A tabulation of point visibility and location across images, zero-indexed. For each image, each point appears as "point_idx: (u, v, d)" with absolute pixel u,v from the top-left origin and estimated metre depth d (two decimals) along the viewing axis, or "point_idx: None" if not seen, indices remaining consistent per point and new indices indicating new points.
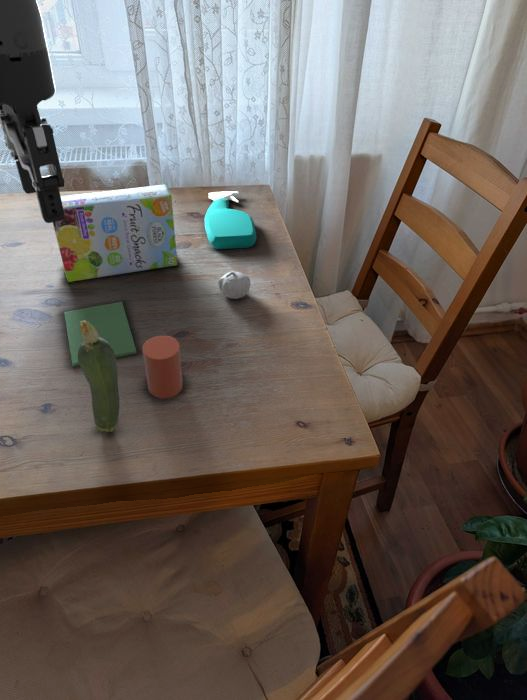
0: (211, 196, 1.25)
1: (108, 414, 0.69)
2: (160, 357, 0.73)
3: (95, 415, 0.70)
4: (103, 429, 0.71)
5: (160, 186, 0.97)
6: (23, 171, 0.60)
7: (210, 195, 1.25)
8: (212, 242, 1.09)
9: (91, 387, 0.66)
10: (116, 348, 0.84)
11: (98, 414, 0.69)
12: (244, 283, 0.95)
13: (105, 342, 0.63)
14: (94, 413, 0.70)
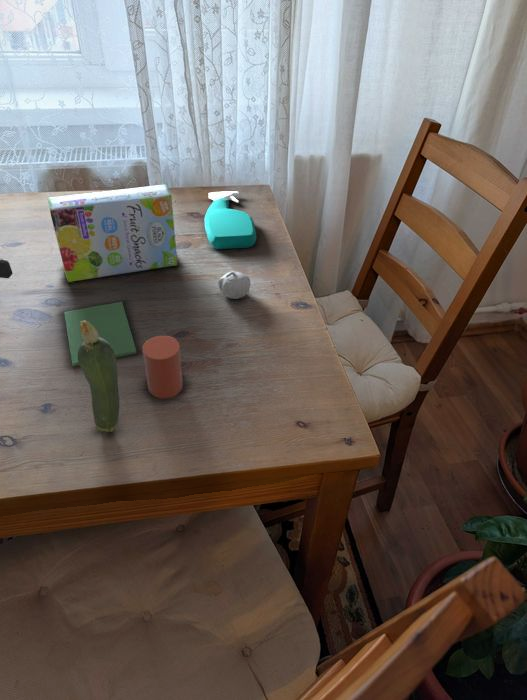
0: (211, 196, 1.25)
1: (108, 414, 0.69)
2: (160, 357, 0.73)
3: (95, 415, 0.70)
4: (103, 429, 0.71)
5: (160, 186, 0.97)
6: None
7: (210, 195, 1.25)
8: (212, 242, 1.09)
9: (91, 387, 0.66)
10: (116, 348, 0.84)
11: (98, 414, 0.69)
12: (244, 283, 0.95)
13: (105, 342, 0.63)
14: (94, 413, 0.70)
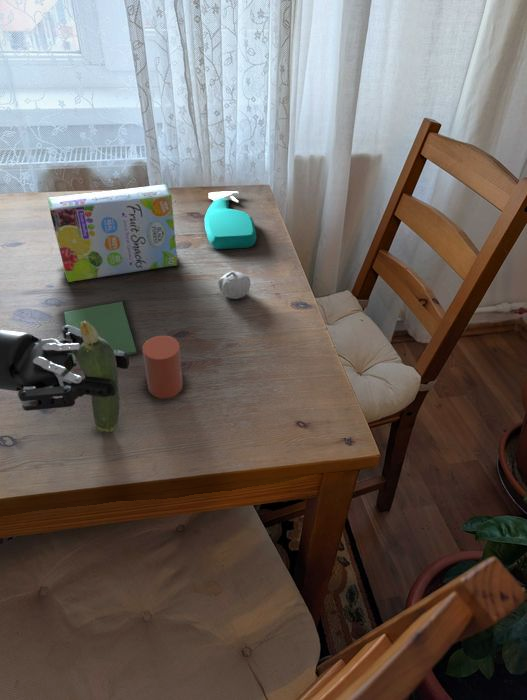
0: (211, 196, 1.25)
1: (108, 415, 0.69)
2: (160, 357, 0.73)
3: (95, 415, 0.70)
4: (103, 429, 0.71)
5: (160, 186, 0.97)
6: None
7: (210, 195, 1.25)
8: (212, 242, 1.09)
9: None
10: (116, 348, 0.84)
11: (98, 414, 0.69)
12: (244, 283, 0.95)
13: (105, 342, 0.63)
14: (94, 413, 0.70)
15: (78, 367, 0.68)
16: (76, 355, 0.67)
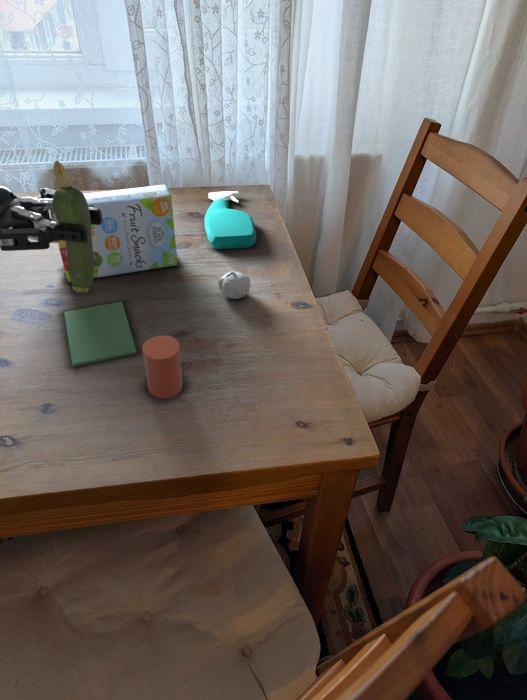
0: (211, 196, 1.25)
1: (82, 270, 0.73)
2: (160, 357, 0.73)
3: (70, 273, 0.74)
4: (78, 288, 0.75)
5: (160, 186, 0.97)
6: None
7: (210, 195, 1.25)
8: (212, 242, 1.09)
9: None
10: (116, 348, 0.84)
11: (73, 270, 0.73)
12: (244, 283, 0.95)
13: (78, 190, 0.67)
14: (69, 270, 0.74)
15: None
16: (52, 209, 0.71)
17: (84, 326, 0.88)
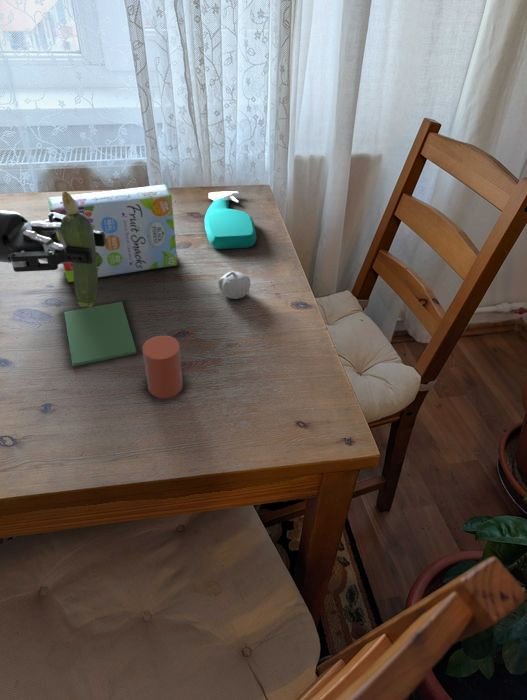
0: (211, 196, 1.25)
1: (87, 288, 0.80)
2: (160, 357, 0.73)
3: (76, 290, 0.81)
4: (83, 303, 0.82)
5: (160, 186, 0.97)
6: None
7: (210, 195, 1.25)
8: (212, 242, 1.09)
9: None
10: (116, 348, 0.84)
11: (79, 287, 0.80)
12: (244, 283, 0.95)
13: (84, 216, 0.74)
14: (76, 287, 0.81)
15: None
16: (60, 233, 0.78)
17: (84, 326, 0.88)
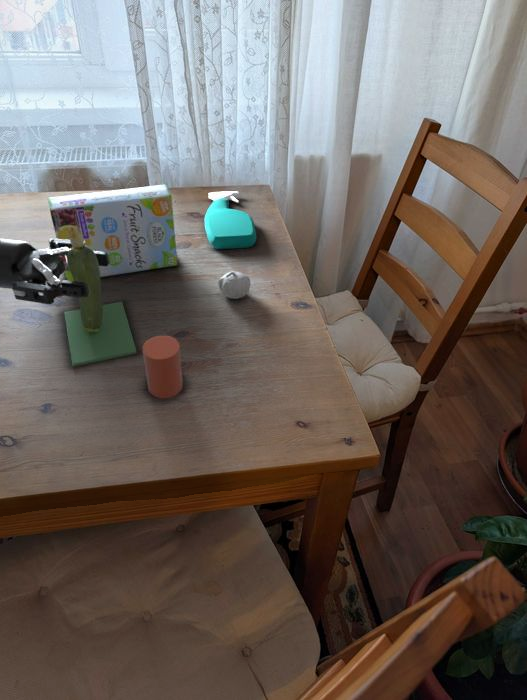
0: (211, 196, 1.25)
1: (93, 315, 0.84)
2: (160, 357, 0.73)
3: (82, 316, 0.84)
4: (89, 329, 0.86)
5: (160, 186, 0.97)
6: None
7: (210, 195, 1.25)
8: (212, 242, 1.09)
9: None
10: (116, 348, 0.84)
11: (85, 314, 0.84)
12: (244, 283, 0.95)
13: (89, 248, 0.78)
14: (82, 314, 0.84)
15: None
16: None
17: None
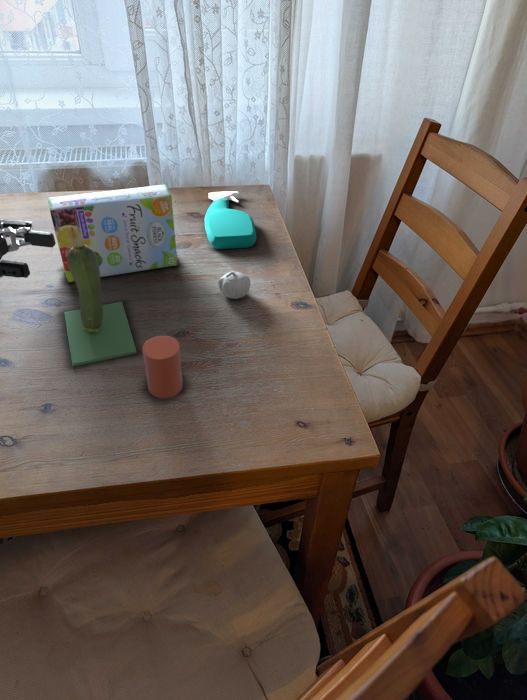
0: (211, 196, 1.25)
1: (93, 315, 0.84)
2: (160, 357, 0.73)
3: (82, 316, 0.84)
4: (89, 329, 0.86)
5: (160, 186, 0.97)
6: None
7: (210, 195, 1.25)
8: (212, 242, 1.09)
9: (78, 289, 0.81)
10: (116, 348, 0.84)
11: (85, 314, 0.84)
12: (244, 283, 0.95)
13: (89, 248, 0.78)
14: (82, 314, 0.84)
15: (14, 249, 0.81)
16: (11, 237, 0.79)
17: None
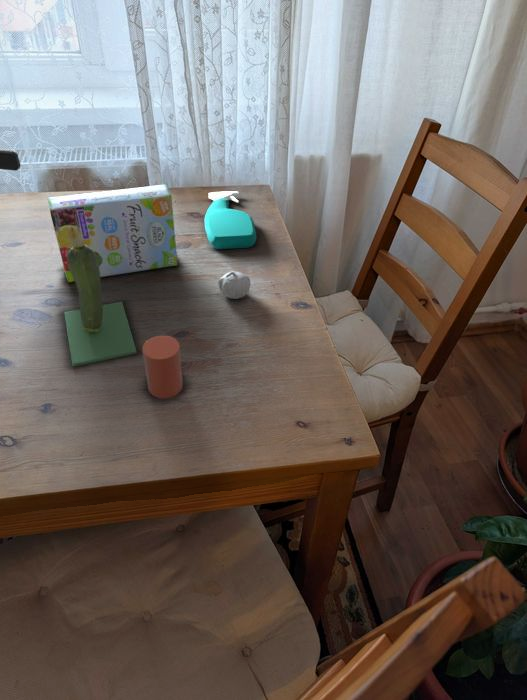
0: (211, 196, 1.25)
1: (93, 315, 0.84)
2: (160, 357, 0.73)
3: (82, 316, 0.84)
4: (89, 329, 0.86)
5: (160, 186, 0.97)
6: None
7: (210, 195, 1.25)
8: (212, 242, 1.09)
9: (78, 289, 0.81)
10: (116, 348, 0.84)
11: (85, 314, 0.84)
12: (244, 283, 0.95)
13: (89, 248, 0.78)
14: (82, 314, 0.84)
15: None
16: None
17: None
